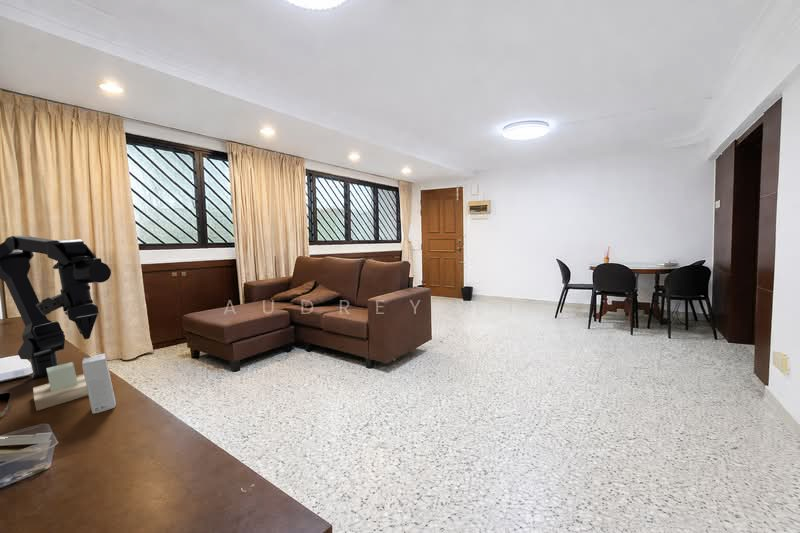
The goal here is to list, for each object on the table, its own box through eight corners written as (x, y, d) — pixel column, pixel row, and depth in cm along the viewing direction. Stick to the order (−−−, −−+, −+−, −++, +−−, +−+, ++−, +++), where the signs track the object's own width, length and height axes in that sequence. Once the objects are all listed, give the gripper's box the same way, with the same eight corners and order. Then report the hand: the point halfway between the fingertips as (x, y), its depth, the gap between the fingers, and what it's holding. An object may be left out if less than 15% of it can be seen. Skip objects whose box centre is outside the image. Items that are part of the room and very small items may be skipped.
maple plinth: (35, 396, 93) (33, 387, 93) (90, 381, 101) (88, 372, 101) (36, 410, 85) (34, 401, 85) (96, 392, 93) (94, 383, 93)
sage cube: (50, 386, 93) (46, 368, 92) (75, 379, 96) (72, 361, 96) (51, 391, 89) (47, 372, 89) (77, 384, 93) (74, 366, 92)
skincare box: (116, 407, 84) (107, 358, 82) (90, 415, 81) (81, 364, 79) (115, 398, 88) (107, 352, 87) (91, 405, 86) (82, 357, 84)
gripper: (34, 286, 102) (44, 338, 104) (36, 291, 90) (48, 351, 92) (85, 279, 110) (94, 328, 112) (93, 283, 98) (103, 338, 100)
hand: (84, 336), depth 104 cm, fingers open, 9 cm apart
